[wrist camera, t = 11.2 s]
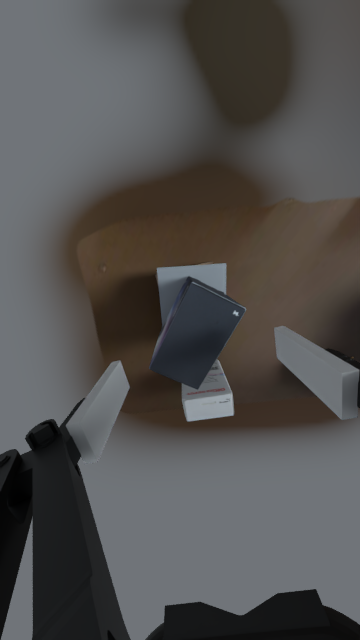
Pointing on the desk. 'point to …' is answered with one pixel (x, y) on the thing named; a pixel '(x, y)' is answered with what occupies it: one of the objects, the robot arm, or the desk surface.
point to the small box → (195, 333)
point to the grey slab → (176, 277)
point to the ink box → (209, 397)
